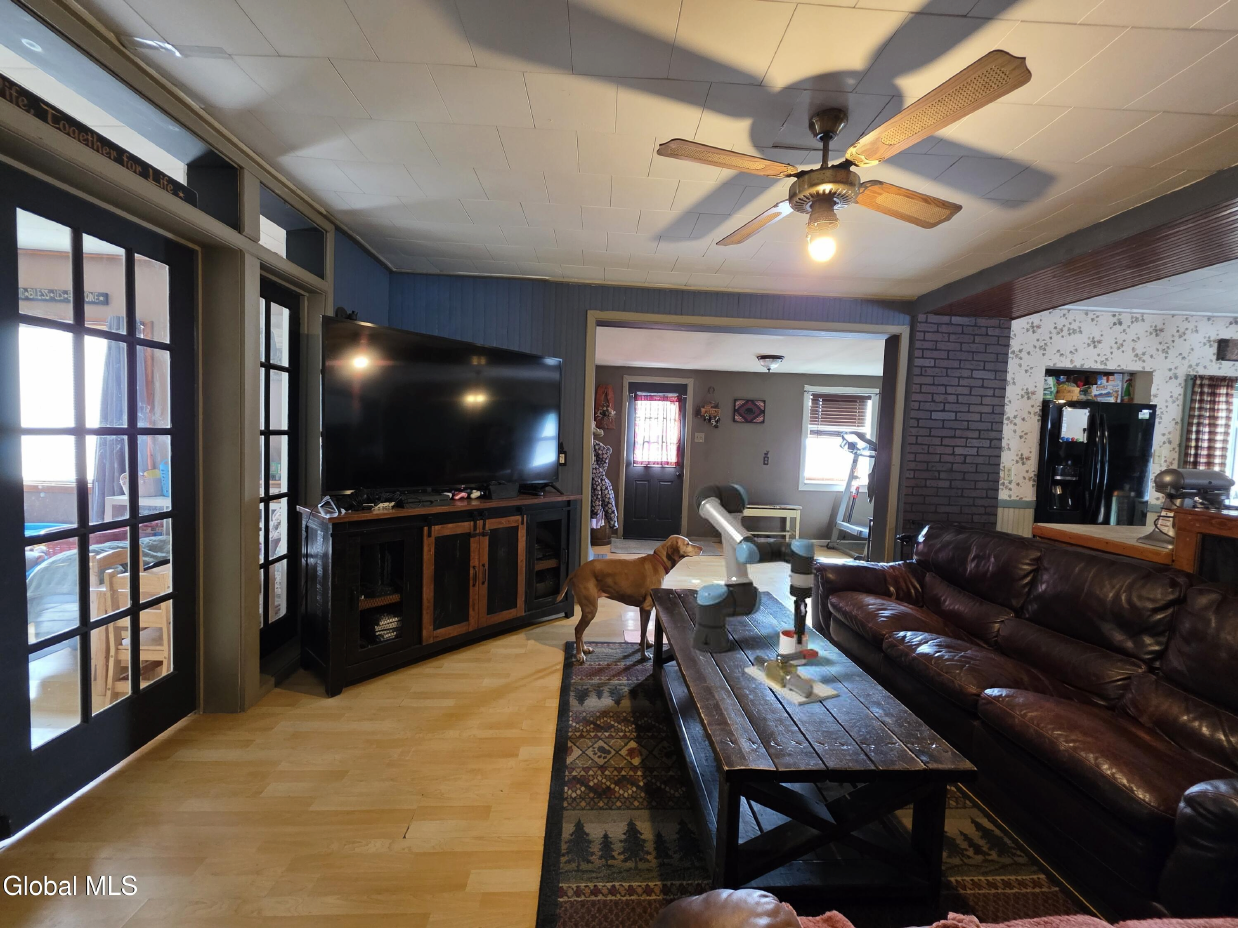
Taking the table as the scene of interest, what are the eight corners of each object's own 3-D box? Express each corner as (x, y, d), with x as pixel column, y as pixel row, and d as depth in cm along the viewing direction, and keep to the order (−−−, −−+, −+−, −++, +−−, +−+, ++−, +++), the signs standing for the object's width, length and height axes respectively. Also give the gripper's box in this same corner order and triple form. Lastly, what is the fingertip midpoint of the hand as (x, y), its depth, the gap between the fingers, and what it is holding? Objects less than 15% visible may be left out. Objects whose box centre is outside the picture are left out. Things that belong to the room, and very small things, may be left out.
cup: (808, 667, 192) (810, 640, 191) (780, 664, 194) (781, 637, 193) (804, 657, 202) (806, 631, 201) (777, 654, 204) (778, 628, 203)
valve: (749, 670, 187) (750, 650, 187) (765, 667, 190) (766, 647, 189) (799, 702, 165) (800, 678, 165) (816, 698, 168) (817, 675, 168)
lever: (781, 664, 174) (781, 658, 174) (773, 660, 178) (773, 654, 178) (819, 657, 181) (819, 652, 181) (810, 653, 185) (811, 647, 185)
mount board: (744, 670, 187) (744, 668, 187) (782, 663, 194) (782, 661, 194) (797, 705, 164) (797, 701, 163) (838, 695, 171) (838, 692, 171)
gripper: (787, 579, 190) (784, 644, 191) (792, 588, 177) (789, 658, 178) (809, 580, 189) (806, 646, 189) (816, 590, 176) (813, 660, 177)
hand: (798, 652), depth 184 cm, fingers closed
